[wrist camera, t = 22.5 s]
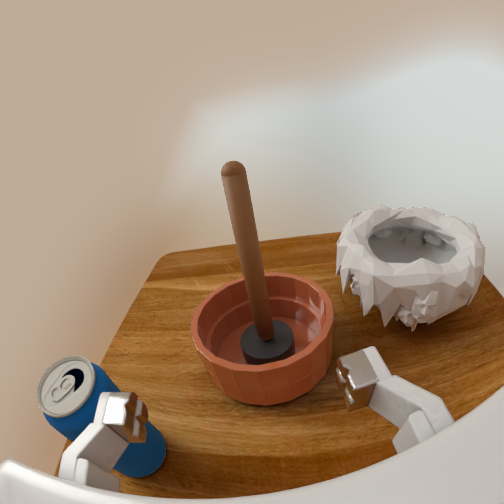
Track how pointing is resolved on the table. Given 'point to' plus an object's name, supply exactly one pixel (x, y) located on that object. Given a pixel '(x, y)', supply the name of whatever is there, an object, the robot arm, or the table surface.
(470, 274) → the bowl
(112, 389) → the beverage can
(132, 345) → the table surface
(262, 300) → the plunger
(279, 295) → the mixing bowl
